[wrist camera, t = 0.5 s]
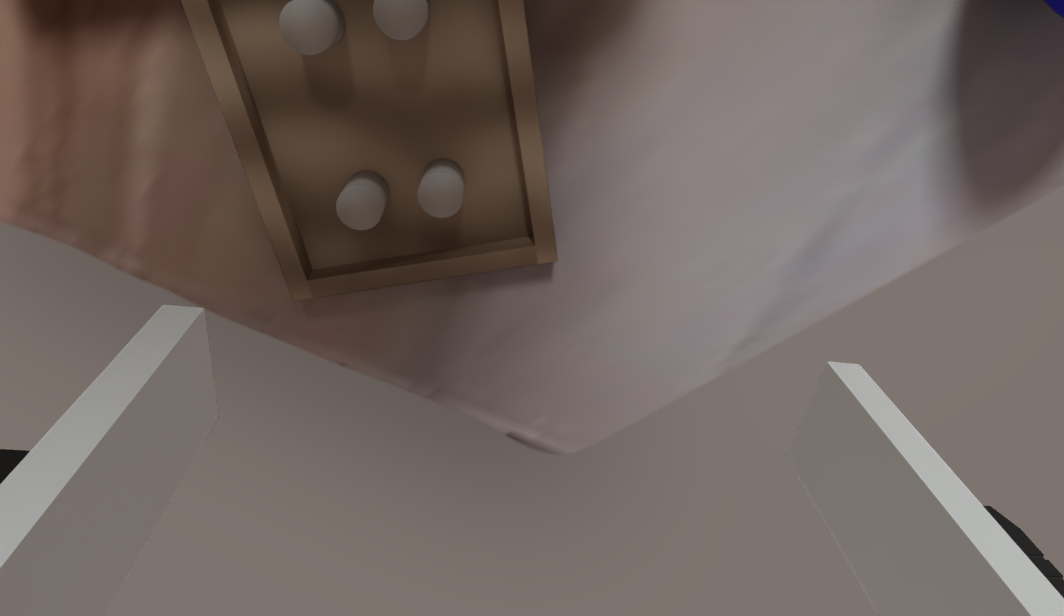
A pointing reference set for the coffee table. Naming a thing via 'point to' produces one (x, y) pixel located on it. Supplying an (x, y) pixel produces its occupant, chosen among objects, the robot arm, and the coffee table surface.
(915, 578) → the robot arm
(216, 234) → the coffee table surface
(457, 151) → the peg frame
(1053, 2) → the ornament
